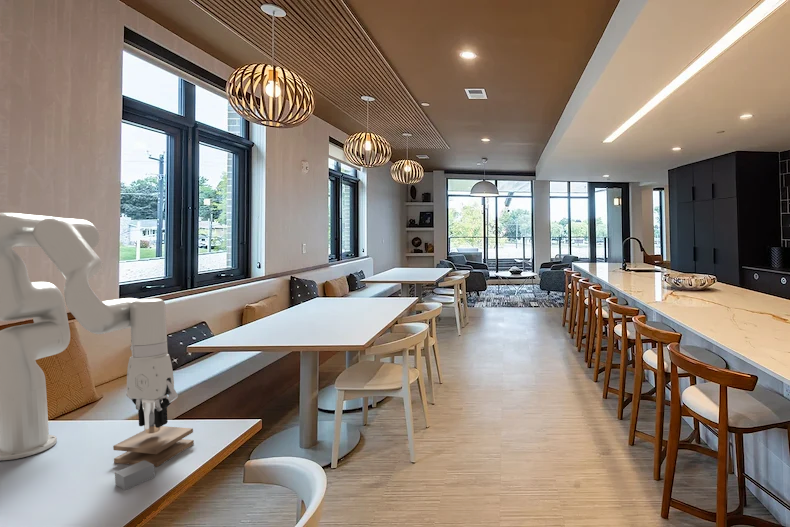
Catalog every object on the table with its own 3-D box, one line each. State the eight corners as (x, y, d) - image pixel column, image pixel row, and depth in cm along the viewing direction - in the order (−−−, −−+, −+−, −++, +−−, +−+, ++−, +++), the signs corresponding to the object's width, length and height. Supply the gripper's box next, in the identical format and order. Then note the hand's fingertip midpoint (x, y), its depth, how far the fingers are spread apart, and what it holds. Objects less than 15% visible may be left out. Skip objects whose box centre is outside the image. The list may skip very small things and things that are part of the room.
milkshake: (156, 436, 103) (156, 394, 102) (137, 433, 104) (137, 392, 103) (170, 428, 107) (170, 388, 107) (151, 426, 108) (151, 386, 108)
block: (115, 486, 91) (114, 472, 91) (145, 473, 96) (144, 460, 96) (124, 491, 89) (124, 477, 89) (154, 478, 94) (153, 464, 94)
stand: (114, 462, 101) (113, 445, 101) (154, 440, 113) (153, 425, 113) (157, 467, 98) (156, 449, 98) (193, 444, 110) (192, 428, 110)
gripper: (108, 352, 103) (112, 428, 104) (167, 354, 99) (171, 433, 100) (134, 346, 111) (137, 417, 111) (190, 347, 107) (193, 421, 107)
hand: (153, 424), depth 105 cm, fingers closed on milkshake, 4 cm apart
